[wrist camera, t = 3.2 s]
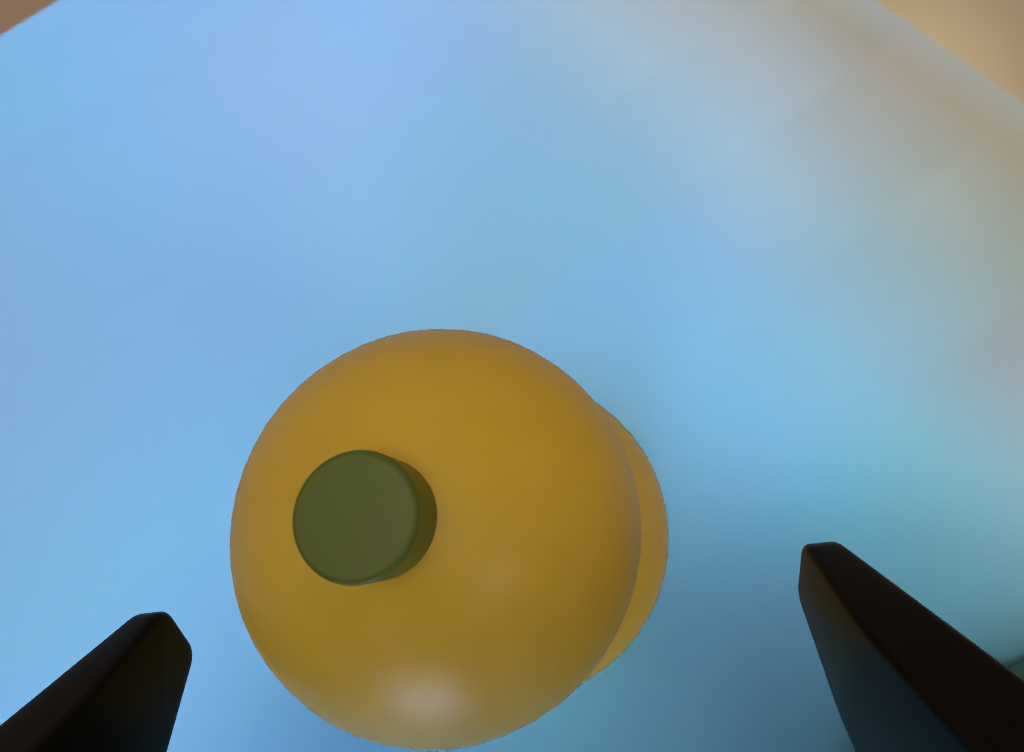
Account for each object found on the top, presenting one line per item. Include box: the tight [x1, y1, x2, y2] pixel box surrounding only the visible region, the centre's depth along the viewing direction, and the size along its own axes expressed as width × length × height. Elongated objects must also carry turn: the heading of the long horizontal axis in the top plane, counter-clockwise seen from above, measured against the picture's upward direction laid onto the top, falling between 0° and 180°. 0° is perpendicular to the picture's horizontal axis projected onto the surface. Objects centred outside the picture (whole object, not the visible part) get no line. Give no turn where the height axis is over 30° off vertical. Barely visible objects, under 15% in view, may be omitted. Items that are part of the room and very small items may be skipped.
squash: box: [230, 329, 668, 750], centre depth 11 cm, size 7×7×13 cm
